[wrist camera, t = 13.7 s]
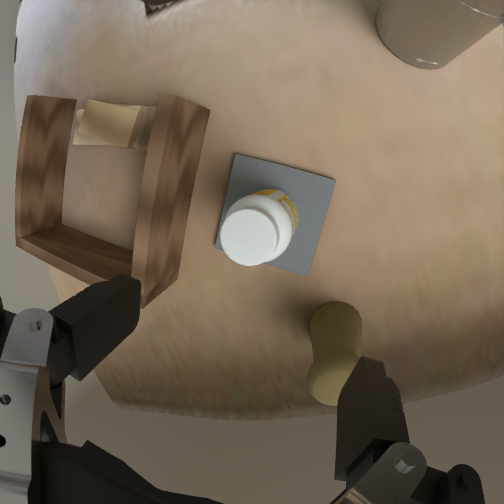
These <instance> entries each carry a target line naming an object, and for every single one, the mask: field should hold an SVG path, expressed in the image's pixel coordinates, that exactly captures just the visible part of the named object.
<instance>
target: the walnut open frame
mask: <svg viewBox="0 0 504 504" xmlns="http://www.w3.org/2000/svg"><path fill="white" fill-rule="evenodd" d="M76 101H77V100H71V99H64V98H56V97H47V96H37V95H30V96H27V100H26V104H25V110H24V115H23V121H22V127H21V134H20V141H19V150H18V160H17V171H16V189H15V234H16V246H18V247H19V248H21V249H23V250H25V251H26V252H28V253H30V254H32V255H33V256H35V257H37V258H39V259H41V260H43V261H45V262H46V263H48V264H50V265H52V266H54V267H56V268H57V269H59V270H61V271H63V272H65V273H67V274H69V275H71V276H73V277H75V278H77V279H79V280H81V281H83V282H85V283H87V284H89V285H92V284H94V283H98V282H102V281H109V280H110V279H112V278H114V277H115V276H117V275H119V274H120V273H123V274H126V275H128V276H130V277H133V278H135V279H138V280H140V282H141V300H140V308H142V309H143V308H144V307H145V306H146V305H147V304H149V303H150V302H151V301H152V300H153V299H155V298H156V297H157V296H158V295H159V294H161V293H162V292H163V291H164V290H165V289H167V288H168V287H169V286H170V285H171V284H173V283H174V282H175V281H176V280H177V279H178V273H179V266H180V260H181V253H182V247H183V241H184V235H185V229H186V223H187V218H188V212H189V207H190V201H191V196H192V191H193V186H194V181H195V176H196V171H197V166H198V162H199V157H200V152H201V148H202V143H203V139H204V135H205V130H206V126H207V122H208V118H209V114H210V110H209V109H206V108H204V107H202V106H199V105H197V104H195V103H192V102H190V101H188V100H185V99H183V98H180V97H178V96H175V95H164V94H160V95H159V99H158V103H157V107H156V112H155V116H154V120H153V125H152V130H151V134H150V139H149V144H148V149H147V155H146V160H145V166H144V172H143V178H142V184H141V190H140V197H139V205H138V212H137V220H136V229H135V238H134V248H133V251H130V250H127V249H124V248H122V247H119V246H116V245H114V244H111V243H108V242H106V241H103V240H100V239H98V238H95V237H92V236H90V235H87V234H85V233H82V232H80V231H77V230H74V229H72V228H69V227H67V226H64V225H62V224H61V220H62V200H63V186H64V176H65V166H66V158H67V151H68V144H69V137H70V131H71V126H72V120H73V115H74V110H75V105H76Z"/></svg>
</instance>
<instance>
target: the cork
mask: <svg viewBox="0 0 504 504" xmlns="http://www.w3.org/2000/svg"><path fill="white" fill-rule="evenodd" d="M309 328H310V336H311V343H312V350H313V357H314V362H313V364H312V365H311V367H310V369H309V372H308V376H307V382H308V388H309V391H310V392H311V394H312V396H313V397H314V398H315V399H317V400H318V401H319V402H321V403H323V404H326V405H331V406H337V403H338V398H339V395H340V392H341V390H342V388H343V386H344V384H345V383H346V381H347V379H348V378H349V376H350V374H351V372H352V371H353V369H354V367H355V365H356V364H357V362H358V360H359V359H360V348H361V333H362V319H361V317H360V314H359V312H358V311H357V310H356V309H355V308H354V307H353V306H351V305H349V304H347V303H342V302H331V303H327V304H325V305H323V306H321V307H320V308H318V309H317V310H316V311H315V312H314V314H313V315H312V317H311V319H310V323H309Z"/></svg>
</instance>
